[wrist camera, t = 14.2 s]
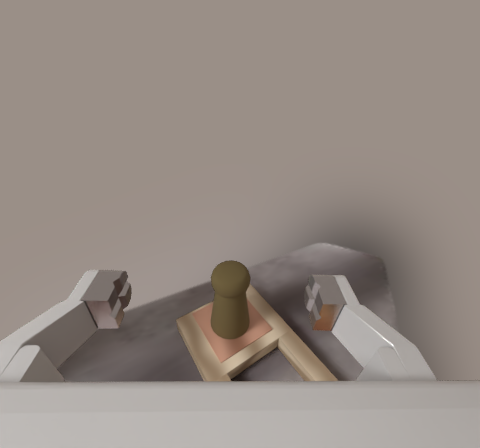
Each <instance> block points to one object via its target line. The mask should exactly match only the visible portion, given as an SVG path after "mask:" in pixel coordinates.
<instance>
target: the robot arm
mask: <svg viewBox="0 0 480 448" xmlns="http://www.w3.org/2000/svg"><path fill="white" fill-rule="evenodd" d="M127 278H128V275H127V272H126V271H112V270H88V271H86V272H85V273H84V275H83V277H82V278H81V279H80V281H79V282H78V284H77V285H76V287H75V288H74V290H73V291H72V293H71V294H70V296H69V297H68V299H67V300H66V301H61V302H60V303H58V304H57V305H55V306H54V307H52V308H51V309H49V310H47V311H46V312H44V313H43V314H41V315H40V316H38V317H37V318H35V319H33V320H32V321H30V322H29V323H27V324H25V325H24V326H22V327H21V328H19V329H18V330H16V331H15V332H13V333H11V334H10V335H8V336H7V337H5V338H4V339H2V340H1V341H0V448H480V380H478V381H477V380H476V381H438V380H437V379H436V377H435V376H434V374H433V372H432V371H431V369H430V368H429V366H428V364H427V363H426V361H425V360H424V358H423V356H422V355H421V353H420V352H419V350H418V348H417V347H416V346H415V345H414V344H412V343H411V342H410V341H408V340H407V339H406V338H405V337H403V336H402V335H401V334H400V333H398V332H397V331H396V330H395V329H393V328H392V327H391V326H389V325H388V324H387V323H386V322H384V321H383V320H382V319H380V318H379V317H378V316H377V315H375V314H374V313H373V312H371V311H370V310H369V309H368V308H366V307H365V306H364V305H360V304H359V302H358V300H357V298H356V296H355V294H354V292H353V290H352V288H351V286H350V284H349V283H348V281H347V279H346V277H345V276H344V275H310V276H309V279H308V283H309V285H308V286H307V287H306V288H305V292H304V301H305V305H306V308H307V309H308V310H309V311H310V314H309V319H310V322H311V326H312V329H313V330H325V331H332V333H333V334H334V335H335V336H336V337H337V338H338V340H339V341H340V342H341V343H342V344H343V345H344V346H345V348H346V349H347V350H348V351H349V352H350V353H351V354H352V355H353V357H354V358H355V359H356V360H357V361H358V362H359V363H360V364H361V366H362V367H363V368H364V369H363V370H362V372H361V373H360V375H359V376H358V377H357V379H356V381H173V382H64V381H65V380H64V378H63V376H62V375H61V374H60V372H59V371H58V370H57V368H58V367H59V366H60V365H61V364H62V363H63V362H64V361H65V360H67V359H68V358H69V357H70V356H71V355H72V354H73V353H74V352H75V351H76V350H77V349H78V348H79V347H80V346H81V345H82V344H83V343H84V342H85V341H87V340H88V339H89V338H90V337H91V336H92V335H93V334H94V333H95V332H96V331H97V330H98V329H111V328H119V326H120V324H121V321H122V319H123V317H124V312H123V309H124V308H125V307H127V306H128V304H129V302H130V299H131V285H130V283H128V282H127Z"/></svg>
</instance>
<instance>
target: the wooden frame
mask: <svg viewBox="0 0 480 448" xmlns="http://www.w3.org/2000/svg"><path fill="white" fill-rule="evenodd" d="M246 296H247V304H248V312H249V320H250V322H249V327H248V329H247V331H246V332H245V333H244V334H243V335H242V336H240V337H238V338H236V339H223V338H221V337H219V336H218V335H217V334H216V333H214V332H213V329H212V327H211V315H212V308H213V301H212V302H210V303H208V304H206V305H204V306H202V307H200V308H198V309H196V310H194V311H192V312H190V313H188V314H186V315H184V316H182V317H180V318H178V319H176V322H177V327H178V330H179V332H180V334H181V336H182V338H183V340H184V342H185V344H186V346H187V348H188V350H189V352H190V354H191V356H192V358H193V360H194V362H195V364H196V366H197V368H198V370H199V372H200V374H201V376H202V378H203V380H204V381H231V379H232V378H234V377H235V376H236V375H238V374H239V373H241V372H242V371H243V370H245V369H246V368H248V367H249V366H251V365H252V364H253V363H255V362H256V361H258V360H259V359H260V358H262V357H263V356H265V355H266V354H268V353H269V352H270V351H272V350H273V349H275V348H276V347H278V349H279V350H280V351H281V352H282V354H283V355H284V356H285V357H286V358H287V360H288V361H289V362H290V363H291V365H292V366H293V367H294V368H295V370H296V371H297V372H298V373H299V375H300V376H301V377H302V378H303V379H304V381H338V380H337V379H336V377H335V376H334V375H333V374H332V373H331V372H330V371H329V370H328V369H327V368H326V367H325V365H324V364H323V363H322V362H321V361H320V360H319V359H318V358H317V357H316V356H315V354H314V353H313V352H312V351H311V350H310V349H309V348H308V347H307V346H306V345H305V343H304V342H303V341H302V340H301V339H300V338H299V337H298V336H297V335H296V334H295V332H294V331H293V330H292V329H291V328H290V327H289V326H288V325H287V324H286V323H285V322H284V320H283V319H282V318H281V317H280V316H279V315H278V314H277V313H276V312H275V311H274V309H273V308H272V307H271V306H270V305H269V304H268V303H267V302H266V301H265V300H264V298H263V297H262V296H261V295H260V294H259V293H258V292H257V291H256V290H255V289H254V287H253V286H252V285H251V284H249V287H248V289H247V291H246Z"/></svg>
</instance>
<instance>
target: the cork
mask: <svg viewBox="0 0 480 448" xmlns="http://www.w3.org/2000/svg"><path fill="white" fill-rule="evenodd" d="M211 282H212V287H213V289H214V291H215V295H214V301H213V308H212V315H211V327H212V329H213V332H214V333H216V334H217V335H218V336H219V337H221V338H223V339H236V338H238V337H240V336H242V335H243V334H244V333H245V332H246V331H247V329H248V327H249V322H250V320H249V312H248V304H247V296H246V291H247V289H248V287H249V284H250V275H249V271H248V270H247V268H246V267H245V266H244V265H243V264H241V263H240V262H237V261H225V262H222V263H220V264H219V265H217V267H216V268H215V269H214V270H213V273H212V276H211Z"/></svg>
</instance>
